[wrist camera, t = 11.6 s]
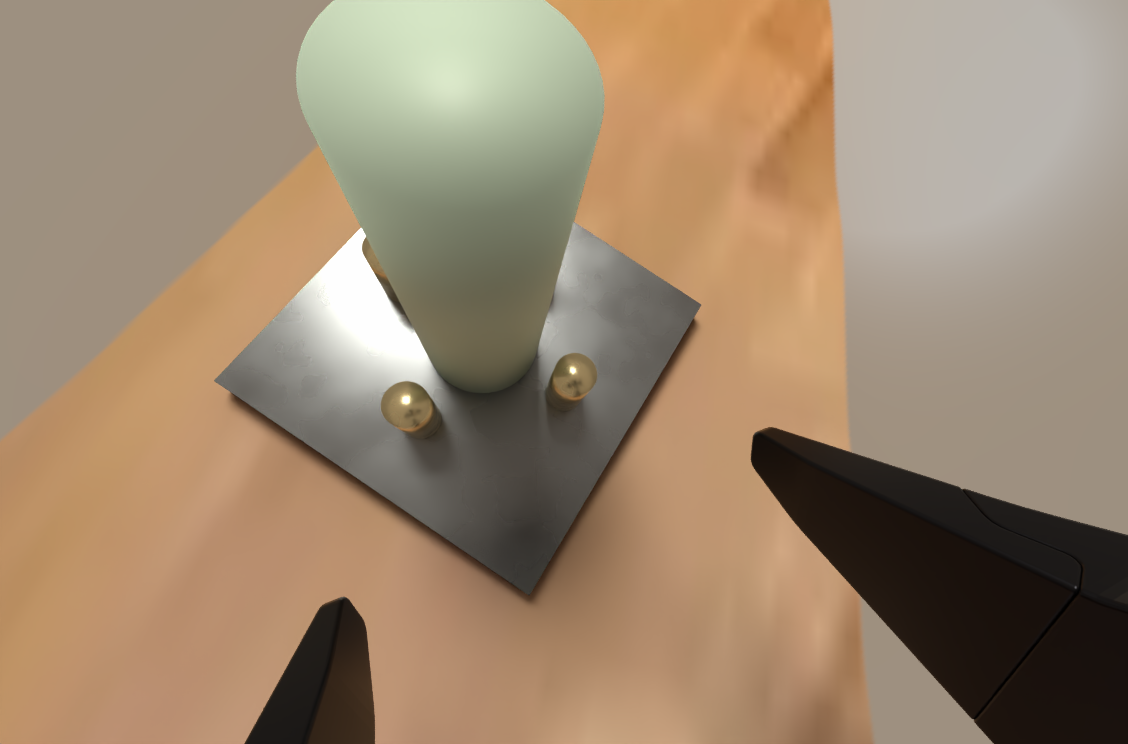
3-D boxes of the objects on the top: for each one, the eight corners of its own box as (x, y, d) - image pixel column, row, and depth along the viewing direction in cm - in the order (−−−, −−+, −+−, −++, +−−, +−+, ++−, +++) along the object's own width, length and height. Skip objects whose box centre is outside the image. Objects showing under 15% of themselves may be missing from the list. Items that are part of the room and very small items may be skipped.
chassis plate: (692, 313, 21) (735, 273, 17) (527, 589, 17) (535, 618, 13) (448, 155, 21) (437, 81, 18) (229, 387, 17) (152, 356, 13)
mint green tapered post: (544, 299, 19) (615, 6, 7) (529, 400, 18) (590, 236, 6) (438, 281, 18) (341, -62, 7) (415, 384, 17) (254, 173, 6)
